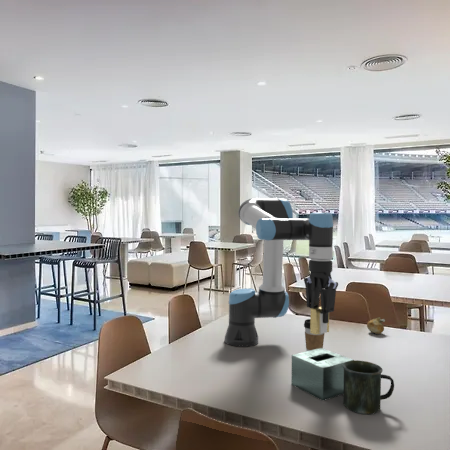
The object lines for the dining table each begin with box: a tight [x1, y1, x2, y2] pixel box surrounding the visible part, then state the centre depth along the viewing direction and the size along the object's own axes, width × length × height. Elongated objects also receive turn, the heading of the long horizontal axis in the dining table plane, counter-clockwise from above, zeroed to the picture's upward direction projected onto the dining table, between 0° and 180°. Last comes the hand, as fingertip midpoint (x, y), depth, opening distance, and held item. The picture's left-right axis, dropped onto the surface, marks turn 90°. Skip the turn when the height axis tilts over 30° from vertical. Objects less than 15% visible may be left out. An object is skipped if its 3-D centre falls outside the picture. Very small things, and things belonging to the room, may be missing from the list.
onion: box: [366, 316, 386, 335], centre depth 196 cm, size 8×8×8 cm
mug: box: [342, 359, 395, 415], centre depth 118 cm, size 11×15×12 cm
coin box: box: [291, 347, 354, 401], centre depth 132 cm, size 14×14×10 cm
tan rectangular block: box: [310, 306, 330, 335], centre depth 131 cm, size 2×6×8 cm, turn 122°
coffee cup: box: [303, 318, 325, 352], centre depth 160 cm, size 8×8×15 cm
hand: (319, 331), depth 131 cm, fingers closed on tan rectangular block, 2 cm apart
